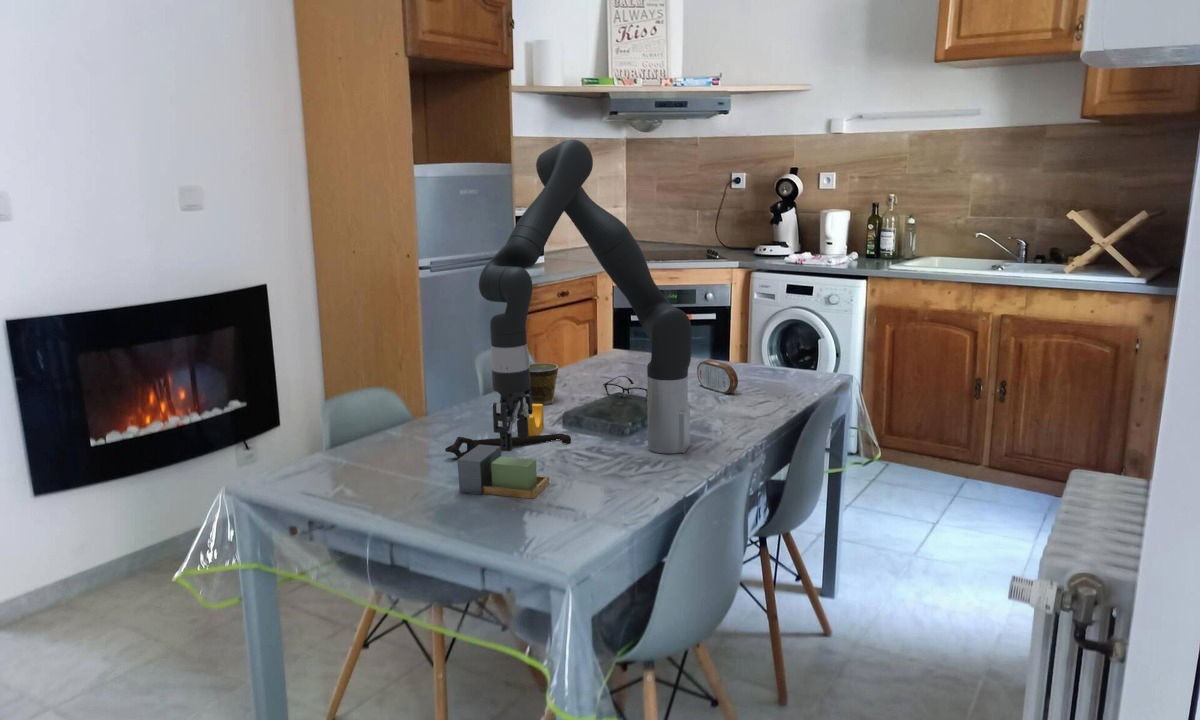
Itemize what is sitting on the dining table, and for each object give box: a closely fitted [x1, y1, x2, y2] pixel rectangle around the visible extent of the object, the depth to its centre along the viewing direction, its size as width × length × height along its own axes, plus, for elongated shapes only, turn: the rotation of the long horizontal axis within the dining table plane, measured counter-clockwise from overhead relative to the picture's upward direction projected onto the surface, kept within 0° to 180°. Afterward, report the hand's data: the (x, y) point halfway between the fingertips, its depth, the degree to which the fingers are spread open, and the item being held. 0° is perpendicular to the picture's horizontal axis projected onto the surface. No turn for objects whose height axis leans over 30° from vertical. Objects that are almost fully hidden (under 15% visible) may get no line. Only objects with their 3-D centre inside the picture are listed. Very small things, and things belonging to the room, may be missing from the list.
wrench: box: [444, 432, 572, 459], centre depth 205 cm, size 5×5×30 cm
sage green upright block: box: [491, 455, 538, 490], centre depth 181 cm, size 8×4×6 cm, turn 71°
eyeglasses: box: [602, 375, 647, 398], centre depth 253 cm, size 16×16×4 cm
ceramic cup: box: [529, 362, 559, 406], centre depth 244 cm, size 13×10×10 cm
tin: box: [696, 358, 739, 395], centre depth 252 cm, size 15×3×8 cm, turn 34°
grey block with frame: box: [457, 444, 550, 500], centre depth 182 cm, size 16×10×7 cm, turn 72°
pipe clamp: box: [528, 404, 545, 436], centre depth 216 cm, size 12×4×6 cm, turn 172°
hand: (515, 444), depth 179 cm, fingers open, 8 cm apart
